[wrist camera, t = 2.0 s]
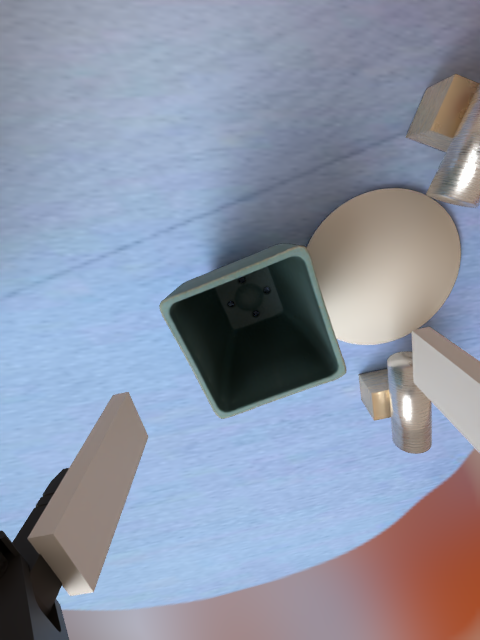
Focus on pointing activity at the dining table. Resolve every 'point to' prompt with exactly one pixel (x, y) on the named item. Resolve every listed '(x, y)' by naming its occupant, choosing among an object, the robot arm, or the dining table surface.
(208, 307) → the flower pot
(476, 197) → the shaft
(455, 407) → the robot arm
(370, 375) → the shaft
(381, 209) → the seat pad
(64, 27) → the dining table surface
